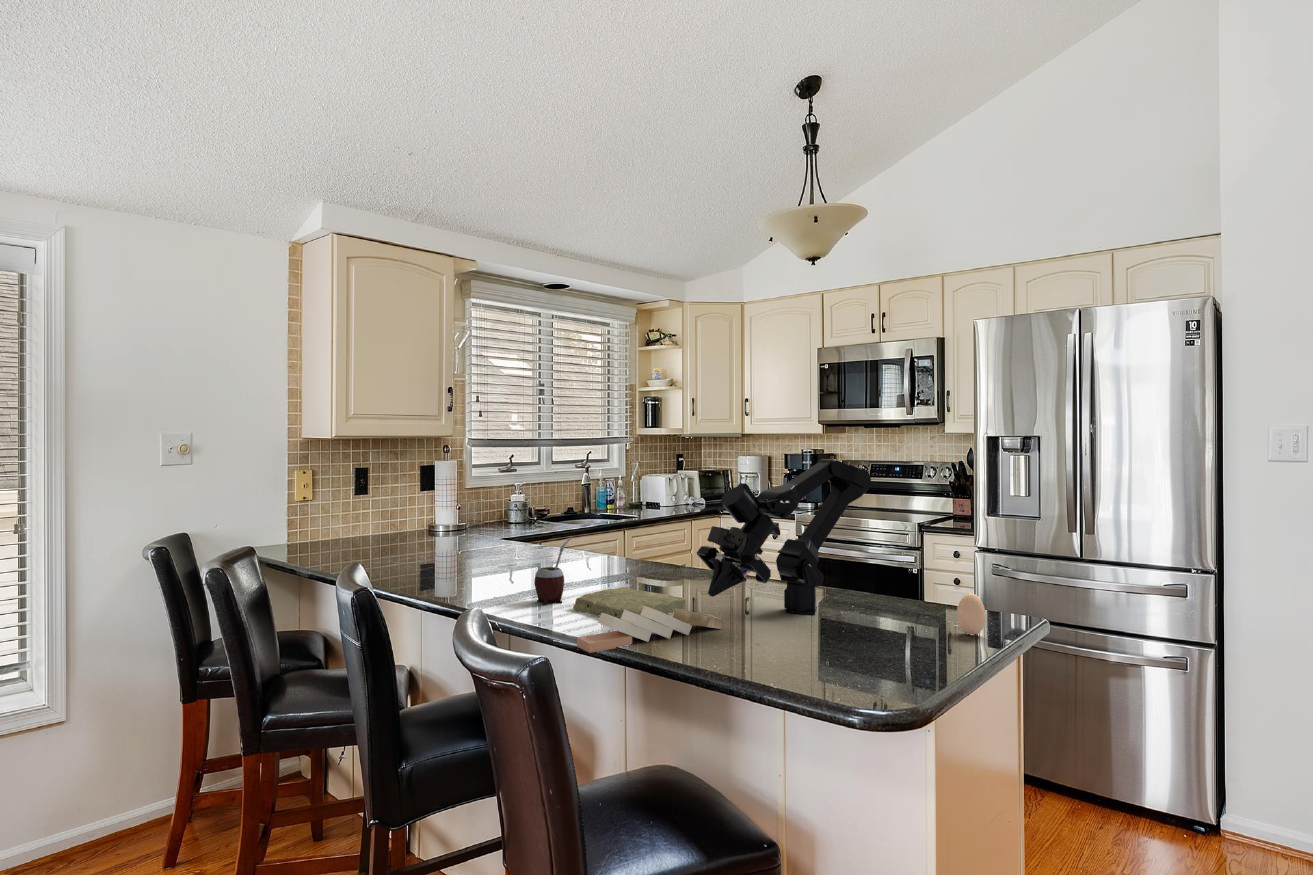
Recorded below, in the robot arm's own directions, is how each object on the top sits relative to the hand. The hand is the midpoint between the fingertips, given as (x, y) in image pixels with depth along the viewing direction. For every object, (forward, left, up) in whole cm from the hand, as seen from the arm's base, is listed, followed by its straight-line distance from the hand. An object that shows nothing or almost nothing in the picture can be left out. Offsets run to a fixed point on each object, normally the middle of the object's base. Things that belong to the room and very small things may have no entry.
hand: (710, 595), depth 148 cm
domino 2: (+10, +12, -6) cm, 17 cm away
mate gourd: (+41, -12, -7) cm, 44 cm away
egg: (-51, -9, -7) cm, 52 cm away
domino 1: (+13, +15, -6) cm, 21 cm away
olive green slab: (+21, -10, -7) cm, 25 cm away
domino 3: (+7, +9, -6) cm, 13 cm away
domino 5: (-1, -1, -6) cm, 6 cm away
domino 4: (+4, +6, -6) cm, 9 cm away
